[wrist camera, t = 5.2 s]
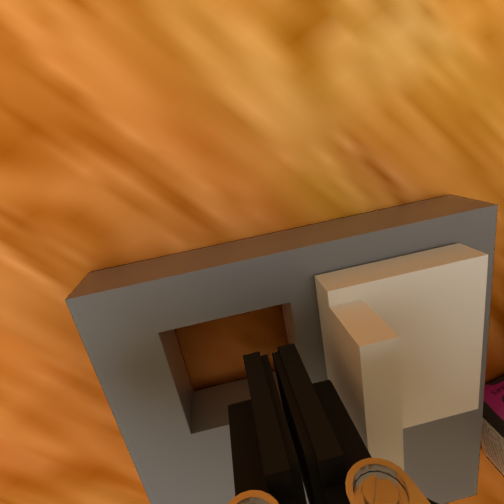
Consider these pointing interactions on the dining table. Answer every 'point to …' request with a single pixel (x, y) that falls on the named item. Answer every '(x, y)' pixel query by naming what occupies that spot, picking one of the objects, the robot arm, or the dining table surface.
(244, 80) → the dining table surface
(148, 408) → the socket plate
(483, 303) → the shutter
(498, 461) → the candy bar box
